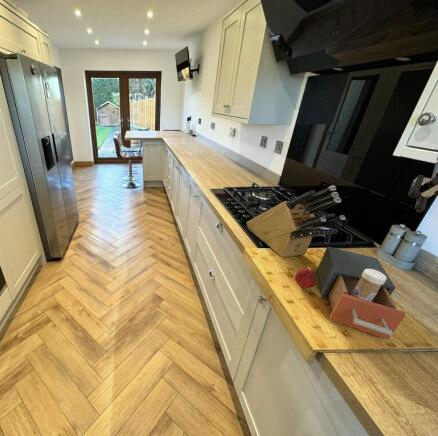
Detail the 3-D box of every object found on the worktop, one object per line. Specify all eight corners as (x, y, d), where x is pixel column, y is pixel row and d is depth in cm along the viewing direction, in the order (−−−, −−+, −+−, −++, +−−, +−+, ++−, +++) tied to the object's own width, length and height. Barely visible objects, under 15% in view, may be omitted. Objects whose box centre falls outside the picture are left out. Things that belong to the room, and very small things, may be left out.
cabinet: (377, 315, 69) (395, 287, 64) (321, 298, 75) (335, 271, 70) (362, 283, 82) (377, 258, 77) (316, 270, 87) (327, 246, 82)
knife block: (298, 273, 85) (331, 193, 72) (244, 227, 116) (260, 165, 102) (324, 270, 87) (361, 192, 74) (264, 226, 118) (282, 165, 105)
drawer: (395, 355, 57) (415, 330, 53) (332, 332, 62) (346, 308, 58) (371, 302, 73) (385, 280, 69) (323, 287, 78) (333, 266, 74)
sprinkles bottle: (340, 304, 70) (360, 268, 64) (353, 303, 70) (374, 267, 64) (354, 317, 65) (377, 279, 60) (368, 315, 66) (392, 278, 60)
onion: (316, 291, 77) (325, 272, 74) (302, 294, 76) (311, 275, 72) (301, 279, 82) (309, 261, 79) (288, 282, 81) (295, 263, 77)
